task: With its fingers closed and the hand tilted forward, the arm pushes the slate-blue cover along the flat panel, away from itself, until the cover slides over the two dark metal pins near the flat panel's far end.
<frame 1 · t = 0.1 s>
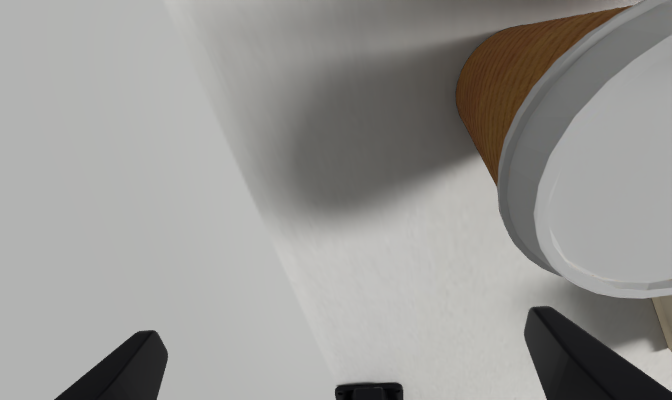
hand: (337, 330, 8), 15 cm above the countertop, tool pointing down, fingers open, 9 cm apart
disposable coffee cup: (510, 86, 20), on the countertop
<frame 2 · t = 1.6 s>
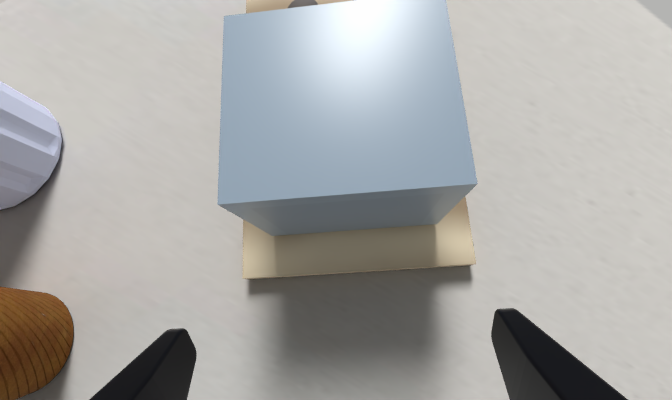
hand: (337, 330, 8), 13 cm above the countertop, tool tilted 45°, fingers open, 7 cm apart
disposable coffee cup: (31, 341, 23), on the countertop
flat panel: (345, 115, 25), on the countertop
soap bottle: (12, 156, 27), on the countertop
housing: (343, 133, 18), point 6 cm above the countertop, slide at 0.0 cm
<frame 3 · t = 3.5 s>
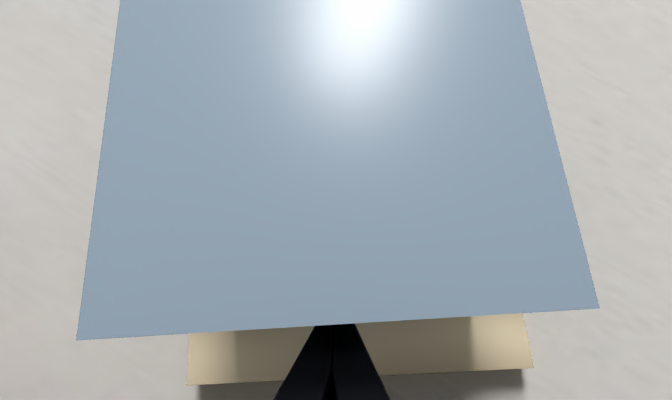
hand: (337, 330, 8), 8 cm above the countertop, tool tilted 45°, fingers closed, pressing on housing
flat panel: (338, 140, 18), on the countertop
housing: (331, 173, 12), point 6 cm above the countertop, slide at 0.2 cm, touching gripper
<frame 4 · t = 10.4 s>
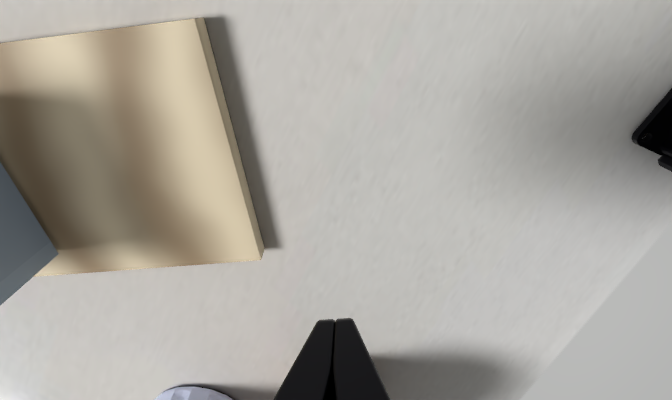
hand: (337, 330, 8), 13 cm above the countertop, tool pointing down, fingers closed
flat panel: (62, 169, 21), on the countertop
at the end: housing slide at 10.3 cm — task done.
